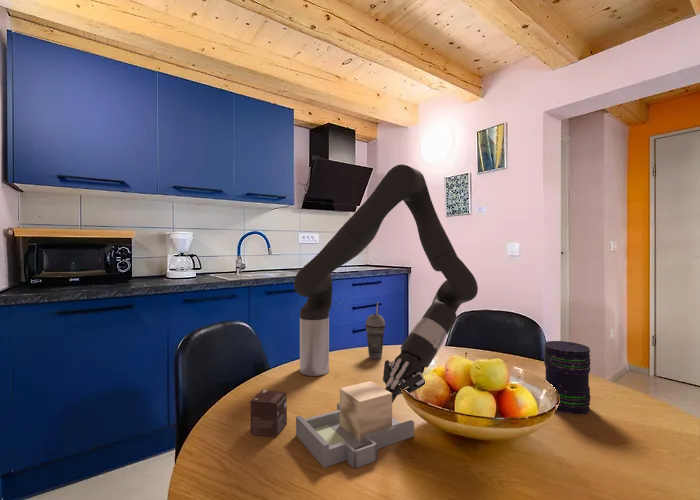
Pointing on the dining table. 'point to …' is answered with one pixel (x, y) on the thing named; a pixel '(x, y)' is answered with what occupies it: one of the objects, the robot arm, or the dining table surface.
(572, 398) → the black striped cylinder
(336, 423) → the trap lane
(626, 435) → the dining table surface
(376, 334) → the beverage cup
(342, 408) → the maple cube
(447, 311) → the robot arm
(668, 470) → the dining table surface
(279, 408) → the box
